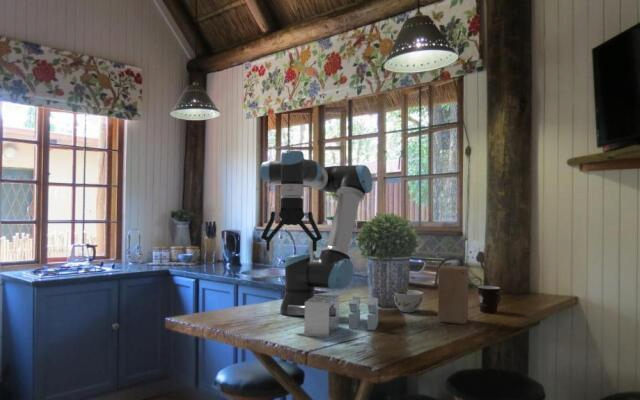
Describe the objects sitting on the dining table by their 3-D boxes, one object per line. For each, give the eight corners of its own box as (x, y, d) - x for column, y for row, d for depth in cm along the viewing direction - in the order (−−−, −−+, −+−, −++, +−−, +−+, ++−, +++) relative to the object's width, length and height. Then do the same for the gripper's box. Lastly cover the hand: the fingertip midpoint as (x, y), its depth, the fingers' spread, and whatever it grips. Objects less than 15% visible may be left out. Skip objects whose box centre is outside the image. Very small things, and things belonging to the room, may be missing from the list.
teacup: (409, 315, 198) (409, 294, 198) (385, 310, 208) (385, 290, 208) (433, 310, 208) (433, 291, 208) (409, 306, 217) (409, 287, 218)
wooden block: (466, 324, 182) (466, 268, 183) (437, 322, 186) (438, 267, 186) (468, 319, 192) (468, 266, 192) (441, 317, 195) (441, 265, 196)
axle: (287, 314, 168) (287, 305, 168) (289, 313, 171) (289, 304, 171) (334, 317, 164) (334, 308, 165) (336, 315, 167) (336, 306, 168)
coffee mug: (476, 309, 212) (476, 285, 213) (498, 310, 211) (498, 286, 211) (479, 314, 201) (479, 289, 201) (502, 316, 199) (502, 290, 199)
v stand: (348, 328, 174) (348, 300, 174) (353, 322, 183) (353, 296, 183) (374, 330, 172) (375, 301, 172) (378, 324, 181) (378, 297, 181)
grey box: (304, 335, 163) (304, 301, 163) (316, 325, 179) (316, 294, 179) (328, 337, 161) (329, 303, 161) (338, 326, 177) (339, 295, 177)
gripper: (252, 196, 167) (251, 261, 167) (328, 197, 164) (327, 262, 164) (257, 197, 175) (257, 259, 174) (330, 197, 172) (329, 260, 172)
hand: (291, 261), depth 169 cm, fingers open, 13 cm apart
